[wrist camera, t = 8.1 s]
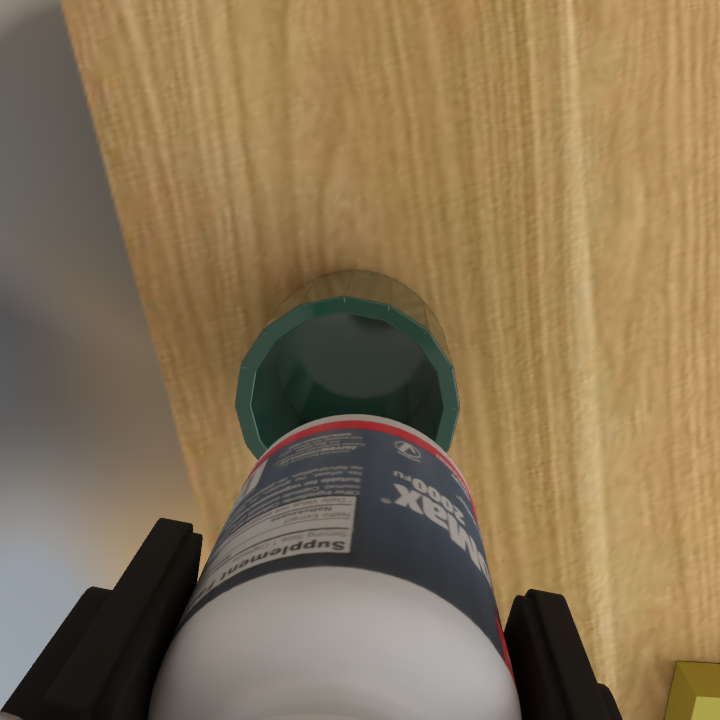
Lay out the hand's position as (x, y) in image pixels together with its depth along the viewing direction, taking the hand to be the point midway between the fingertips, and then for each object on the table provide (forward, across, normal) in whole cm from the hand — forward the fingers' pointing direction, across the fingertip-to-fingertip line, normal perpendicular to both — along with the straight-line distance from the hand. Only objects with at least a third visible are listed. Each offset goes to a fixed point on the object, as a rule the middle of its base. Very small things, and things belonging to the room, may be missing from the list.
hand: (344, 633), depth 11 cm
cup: (+18, +1, +1) cm, 18 cm away
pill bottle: (+4, 0, 0) cm, 4 cm away
